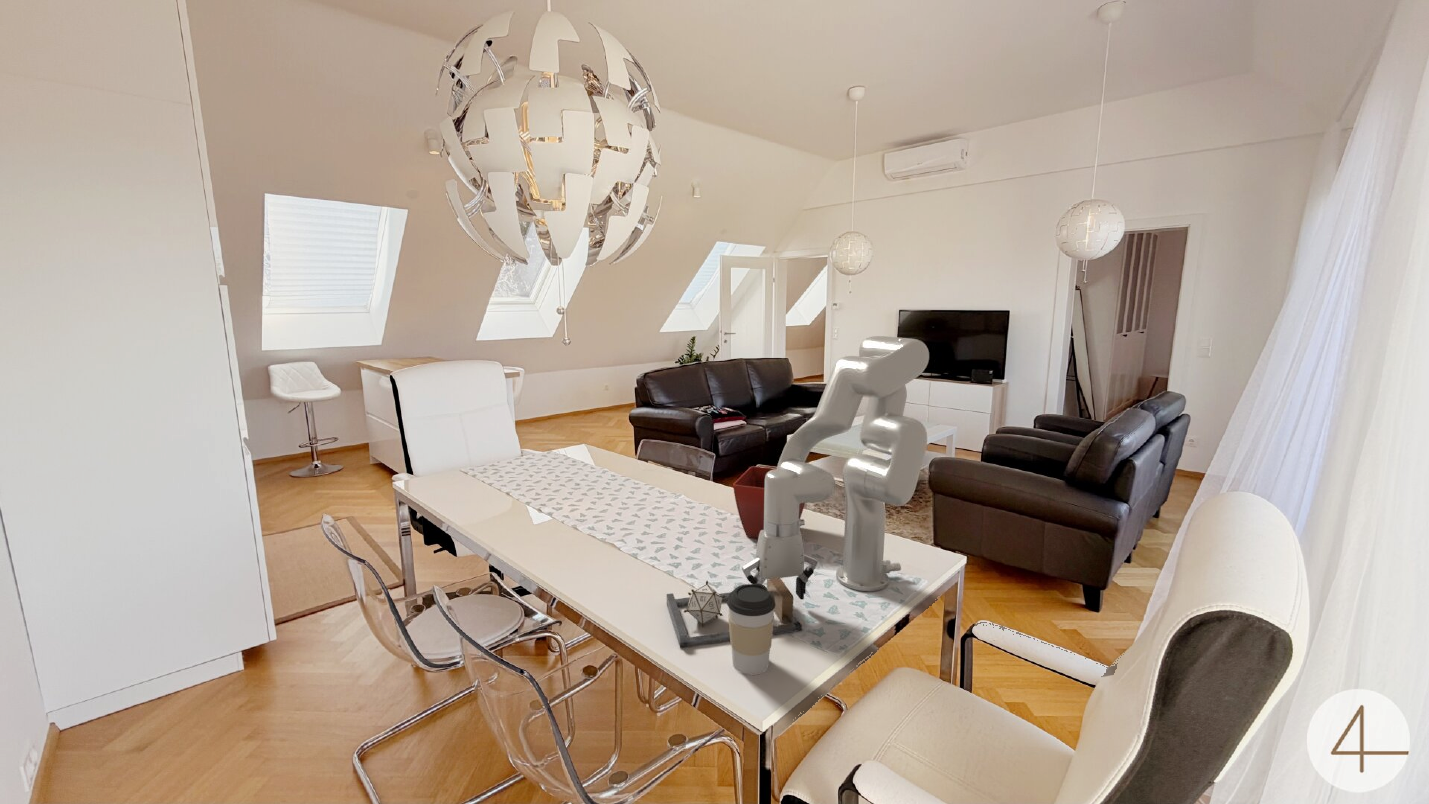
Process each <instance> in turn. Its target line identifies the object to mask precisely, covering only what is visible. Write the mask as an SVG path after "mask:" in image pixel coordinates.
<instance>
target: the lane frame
mask: <svg viewBox="0 0 1429 804" xmlns="http://www.w3.org/2000/svg"><path fill="white" fill-rule="evenodd" d="M766 588H767V590H768V592H770V593H771V594H772V595H773V596H774V598H775V608H774V614H775V615H776V617H777V618H778V620H779V622H780V623H781V624H776V625H775V624H774V625H773V632H772V636H774V635H779V634H787V633H793V632H800V631H803V625H802V624H801V622H800V621H799V619H798V618H797V617H796V615H795V613H794V595H793V594H792V592H791V591H790V589H789V588H788V587H787V586H786V584H785V583H784V582H783V579H782V578H776V579H766ZM731 592H732V591H729V592H724V593H723V592H722V593H719V594H720V595H721V596H724V595H725V596H726V597H725V598H722V602H725V601H728V596H729V594H730V593H731ZM689 599H690V596H689V597H683V598H682V597H681V598H675V595H674V593H666V607H667V610H668V613H669V616H670V619H671V620H670V621H671V623H672V626H673V629H674V632H675V636H676V639H677V642H678V645H679V648H687V647H694V646H700V645H701V646H702V645H707V644H709V645H710V644H714V643H715V644H717V643H722V642H729V641H730V631H726V632H718V633H711V634H704V635H697V636H690V637H688V633H687V631H686V630H687V629H686V628H685V625H684V622H683V618H682V616H681V613H680V609H679V607H682V606H683V607H685V606H688V603H689Z"/></svg>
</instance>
